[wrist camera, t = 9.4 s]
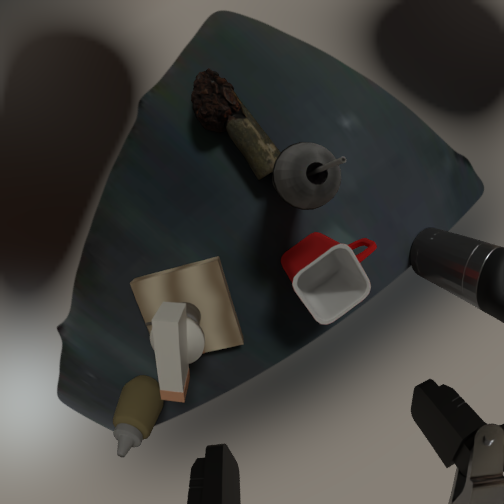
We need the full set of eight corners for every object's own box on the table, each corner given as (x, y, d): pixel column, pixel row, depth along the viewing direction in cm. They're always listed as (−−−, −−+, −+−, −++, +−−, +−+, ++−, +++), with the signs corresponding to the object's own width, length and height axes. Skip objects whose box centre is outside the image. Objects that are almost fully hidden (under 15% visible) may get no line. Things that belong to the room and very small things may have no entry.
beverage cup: (251, 180, 39) (266, 170, 19) (285, 145, 38) (329, 106, 18) (288, 214, 40) (335, 237, 21) (321, 179, 39) (390, 172, 20)
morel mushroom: (284, 162, 39) (291, 158, 33) (246, 188, 39) (247, 188, 34) (217, 72, 35) (214, 57, 30) (180, 96, 36) (171, 83, 30)
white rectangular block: (149, 296, 32) (132, 318, 26) (205, 300, 33) (198, 324, 26) (156, 368, 34) (145, 397, 28) (205, 373, 35) (201, 403, 29)
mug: (303, 298, 43) (322, 329, 33) (274, 257, 42) (286, 280, 31) (363, 254, 42) (396, 272, 32) (337, 211, 41) (368, 219, 30)
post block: (218, 256, 41) (214, 273, 32) (243, 336, 44) (244, 368, 35) (135, 278, 41) (113, 299, 32) (165, 352, 44) (152, 383, 35)
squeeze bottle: (151, 406, 47) (130, 473, 29) (120, 382, 45) (88, 446, 28) (175, 389, 46) (157, 462, 29) (142, 363, 44) (110, 432, 27)
